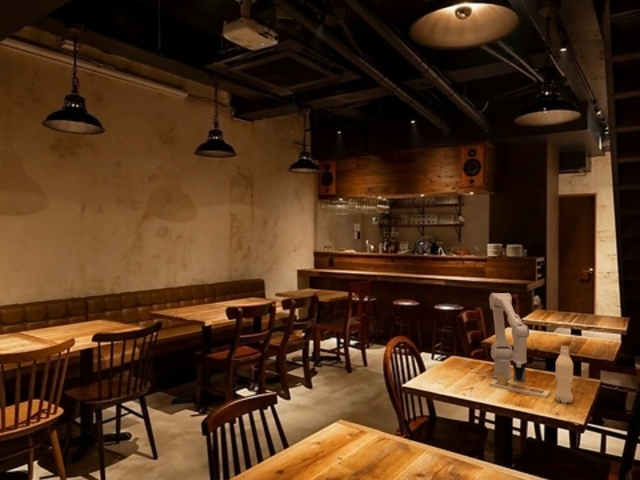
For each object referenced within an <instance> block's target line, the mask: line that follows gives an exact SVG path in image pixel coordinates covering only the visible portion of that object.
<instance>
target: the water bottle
mask: <svg viewBox="0 0 640 480" xmlns="http://www.w3.org/2000/svg"><path fill="white" fill-rule="evenodd" d="M559 351H560V353H559V355H558V357H557V359H556V361H555V374H554V376H555V379H556V390H555V392H554V397H555V399H556V401H557V402H560V403H562V404H567V403H568V404H571V402H572V400H573V399H574V396H573V392H572V389H571V388H572V382H573V381H574V362H573V360H572V358H571V357H570V351H569V346H568V345H560V350H559Z"/></svg>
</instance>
